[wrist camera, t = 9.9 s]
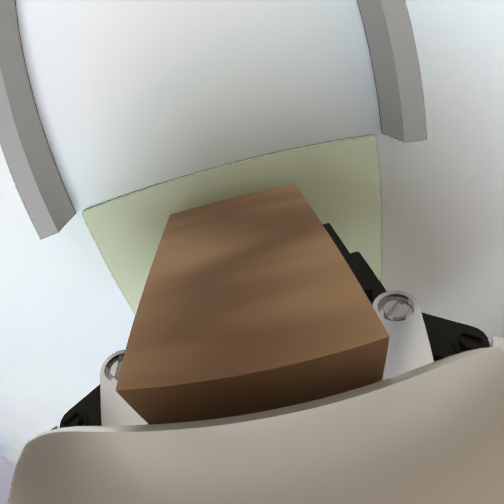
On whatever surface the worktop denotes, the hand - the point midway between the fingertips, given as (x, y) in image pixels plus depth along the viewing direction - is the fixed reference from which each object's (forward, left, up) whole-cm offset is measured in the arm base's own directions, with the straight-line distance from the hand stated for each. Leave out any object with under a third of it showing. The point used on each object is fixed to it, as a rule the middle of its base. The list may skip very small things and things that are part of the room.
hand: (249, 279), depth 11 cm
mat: (0, +3, -4) cm, 5 cm away
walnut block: (0, +3, -2) cm, 4 cm away
